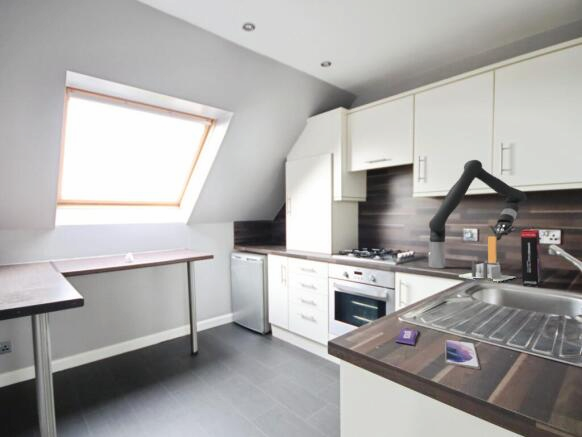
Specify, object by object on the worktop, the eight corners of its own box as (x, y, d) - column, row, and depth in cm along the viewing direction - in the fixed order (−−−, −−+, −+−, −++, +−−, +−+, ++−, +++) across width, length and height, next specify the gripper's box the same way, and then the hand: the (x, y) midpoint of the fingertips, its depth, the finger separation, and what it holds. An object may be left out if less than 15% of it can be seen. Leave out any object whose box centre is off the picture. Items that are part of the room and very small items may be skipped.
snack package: (414, 341, 83) (395, 338, 85) (414, 348, 83) (395, 345, 85) (419, 327, 93) (402, 324, 95) (419, 333, 93) (402, 331, 95)
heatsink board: (458, 276, 174) (458, 260, 174) (477, 273, 185) (477, 257, 185) (497, 283, 157) (497, 264, 157) (515, 278, 168) (515, 261, 168)
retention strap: (488, 264, 176) (487, 236, 176) (489, 263, 176) (489, 236, 176) (495, 264, 172) (495, 236, 172) (496, 264, 173) (496, 236, 173)
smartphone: (445, 362, 73) (445, 339, 86) (445, 365, 73) (445, 342, 86) (480, 368, 70) (474, 343, 83) (480, 371, 70) (474, 346, 83)
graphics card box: (538, 287, 146) (538, 230, 146) (520, 285, 151) (520, 230, 151) (540, 282, 159) (540, 229, 159) (524, 280, 164) (523, 229, 164)
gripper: (492, 213, 188) (482, 234, 181) (517, 213, 177) (507, 235, 170) (497, 222, 191) (487, 242, 184) (522, 222, 179) (512, 244, 173)
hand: (497, 239), depth 177 cm, fingers closed
